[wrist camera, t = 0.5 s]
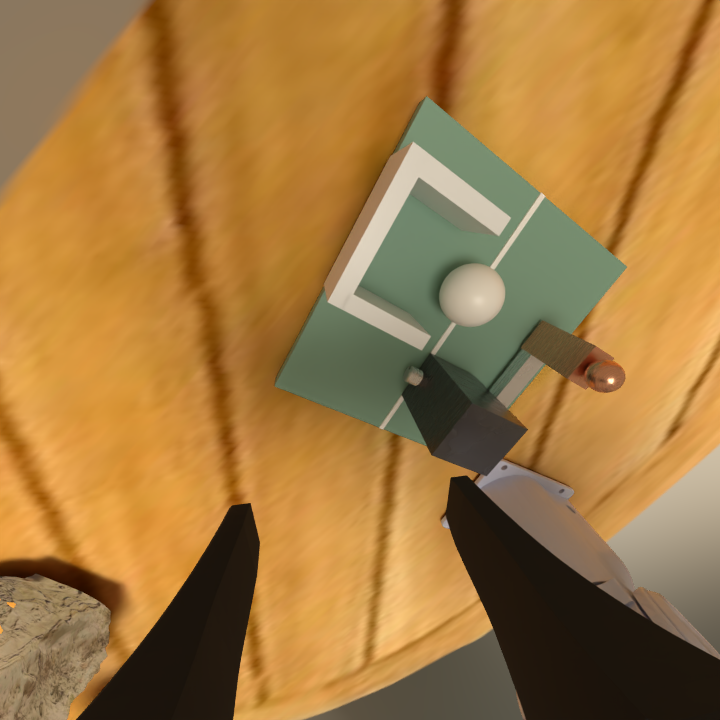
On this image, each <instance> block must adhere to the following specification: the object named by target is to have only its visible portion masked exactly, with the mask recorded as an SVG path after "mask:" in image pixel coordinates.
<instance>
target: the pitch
mask: <svg viewBox="0 0 720 720" xmlns="http://www.w3.org/2000/svg"><path fill="white" fill-rule="evenodd" d="M412 142H414V143H416V144H417V145H418V146H420V147H421V148H422V149H423V150H425V151H426V152H427V153H429V154H430V155H431V156H432V157H434V158H435V159H436V160H438V161H439V162H440V163H441V164H443V165H444V166H445V167H447V168H448V169H449V170H450V171H452V172H453V173H454V174H456V175H457V176H458V177H459V178H461V179H462V180H463V181H465V182H466V183H467V184H468V185H470V186H471V187H472V188H473V189H475V190H476V191H477V192H479V193H480V194H481V195H482V196H484V197H485V198H486V199H488V200H489V201H490V202H491V203H493V204H494V205H495V206H497V207H498V208H499V209H500V210H502V211H503V212H504V213H506V214H507V215H508V216H509V217H511V219H510V221H509V222H508V224H507V225H506V227H505V228H504V230H503V231H502V232H501V234H500V235H499V236H495V235H488V234H481V233H475V232H468V231H462V230H460V229H459V228H457V227H456V226H455V225H453V224H452V223H450V222H449V221H448V220H446V219H445V218H443V217H442V216H441V215H439V214H438V213H436V212H435V211H433V210H432V209H431V208H429V207H428V206H426V205H425V204H424V203H422V202H421V201H419V200H418V199H416V198H415V197H414V196H412V195H411V194H409V195H408V197H407V199H406V201H405V202H404V204H403V206H402V208H401V210H400V211H399V213H398V215H397V217H396V219H395V220H394V222H393V224H392V226H391V228H390V229H389V231H388V233H387V235H386V236H385V238H384V240H383V242H382V244H381V245H380V247H379V249H378V251H377V253H376V254H375V256H374V258H373V260H372V262H371V263H370V265H369V267H368V269H367V270H366V272H365V274H364V276H363V278H362V279H361V281H360V283H359V286H361V287H362V288H364V289H366V290H368V291H370V292H372V293H373V294H375V295H377V296H379V297H381V298H382V299H384V300H386V301H388V302H390V303H391V304H393V305H395V306H397V307H399V308H400V309H402V310H404V311H406V312H408V313H409V314H410V315H411V316H412V317H413V318H414V319H415V320H416V321H417V322H418V323H419V324H420V325H421V326H422V327H423V328H424V329H425V330H426V331H427V333H428V334H429V335H430V336H431V337H430V339H429V340H428V342H427V343H426V345H425V346H424V348H423V349H422V350H420V349H418V348H416V347H414V346H412V345H410V344H408V343H406V342H404V341H402V340H400V339H398V338H396V337H394V336H392V335H390V334H389V333H387V332H385V331H383V330H381V329H379V328H377V327H375V326H373V325H371V324H369V323H367V322H365V321H363V320H361V319H359V318H357V317H355V316H354V315H352V314H350V313H348V312H346V311H344V310H342V309H340V308H338V307H336V306H334V305H332V304H330V303H328V302H327V297H326V292H325V287H323V289H322V291H321V293H320V295H319V297H318V298H317V300H316V302H315V304H314V306H313V308H312V310H311V312H310V314H309V316H308V318H307V320H306V321H305V323H304V325H303V327H302V329H301V331H300V333H299V335H298V337H297V339H296V341H295V343H294V344H293V346H292V348H291V350H290V352H289V354H288V356H287V358H286V360H285V362H284V364H283V366H282V367H281V369H280V371H279V373H278V375H277V377H276V380H275V387H277V388H280V389H283V390H285V391H288V392H290V393H293V394H295V395H298V396H300V397H303V398H306V399H308V400H311V401H313V402H316V403H318V404H321V405H323V406H326V407H328V408H331V409H334V410H336V411H339V412H341V413H344V414H346V415H349V416H351V417H354V418H356V419H359V420H362V421H364V422H367V423H369V424H372V425H374V426H377V427H379V428H380V429H382V430H383V429H384V430H387V431H390V432H392V433H395V434H397V435H400V436H402V437H405V438H407V439H410V440H413V441H415V442H418V443H420V444H423V445H425V446H427V445H426V443H425V441H424V439H423V437H422V435H421V433H420V431H419V429H418V427H417V425H416V423H415V421H414V419H413V417H412V415H411V413H410V411H409V409H408V407H407V405H406V403H405V401H404V399H403V397H402V395H401V394H402V393H403V391H404V390H405V389H406V387H407V386H408V384H409V383H408V382H406V381H404V379H403V376H404V373H405V371H406V369H407V368H408V367H409V366H413V367H415V368H418V369H419V368H420V367H421V365H422V364H423V362H424V361H425V359H426V358H427V357H428V355H429V354H430V353H432V354H434V355H436V356H437V357H439V358H441V359H443V360H445V361H447V362H449V363H451V364H453V365H455V366H457V367H459V368H461V369H463V370H465V371H466V372H468V373H470V374H472V375H474V376H475V377H476V378H477V379H478V380H479V381H480V382H481V383H482V384H483V385H484V386H485V387H486V388H487V389H488V390H490V389H491V388H492V386H493V385H494V384H495V383H496V381H497V380H498V379H499V378H500V376H501V375H502V374H503V373H504V371H505V370H506V369H507V367H508V366H509V365H510V364H511V362H512V361H513V360H514V359H515V357H516V356H517V355H518V354H519V352H520V351H521V350H522V348H521V347H522V345H523V344H524V343H525V342H526V340H527V339H528V338H529V337H530V335H531V334H532V333H533V332H534V330H535V329H536V328H537V326H538V325H539V324H540V323H541V321H542V320H543V321H545V322H547V323H549V324H551V325H553V326H555V327H557V328H559V329H561V330H564V331H566V332H568V333H570V334H572V333H573V331H574V330H575V329H576V328H577V327H578V325H579V324H580V323H581V322H582V321H583V319H584V318H585V317H586V316H587V315H588V313H589V312H590V311H591V310H592V309H593V307H594V306H595V305H596V304H597V303H598V301H599V300H600V299H601V298H602V297H603V295H604V294H605V293H606V292H607V291H608V289H609V288H610V287H611V286H612V285H613V283H614V282H615V281H616V280H617V279H618V278H619V276H620V275H621V274H622V273H623V272H624V270H625V269H626V268H627V266H626V265H624V264H623V263H622V262H621V261H620V260H618V259H617V258H616V257H615V256H614V255H613V254H611V253H610V252H609V251H608V250H607V249H606V248H604V247H603V246H602V245H601V244H600V243H599V242H597V241H596V240H595V239H594V238H593V237H591V236H590V235H589V234H588V233H587V232H586V231H584V230H583V229H582V228H581V227H580V226H579V225H577V224H576V223H575V222H574V221H573V220H571V219H570V218H569V217H568V216H567V215H566V214H564V213H563V212H562V211H561V210H560V209H559V208H557V207H556V206H555V205H554V204H553V203H552V202H550V201H549V200H548V199H547V198H546V197H545V195H544V194H542V193H540V192H539V191H537V190H536V189H535V188H534V187H533V186H532V185H530V184H529V183H528V182H527V181H526V180H525V179H523V178H522V177H521V176H520V175H519V174H517V173H516V172H515V171H514V170H513V169H512V168H510V167H509V166H508V165H507V164H506V163H505V162H503V161H502V160H501V159H500V158H499V157H497V156H496V155H495V154H494V153H493V152H492V151H490V150H489V149H488V148H487V147H486V146H485V145H483V144H482V143H481V142H480V141H479V140H478V139H476V138H475V137H474V136H473V135H472V134H470V133H469V132H468V131H467V130H466V129H465V128H463V127H462V126H461V125H460V124H459V123H458V122H456V121H455V120H454V119H453V118H452V117H451V116H449V115H448V114H447V113H446V112H445V111H443V110H442V109H441V108H440V107H439V106H438V105H436V104H435V103H434V102H433V101H432V100H431V99H429V98H428V97H427V96H426V97H425V98H424V99H423V100H422V101H421V102H420V103H419V105H418V107H417V109H416V111H415V113H414V114H413V116H412V118H411V120H410V122H409V124H408V126H407V128H406V130H405V132H404V134H403V136H402V137H401V139H400V141H399V143H398V145H397V147H396V149H395V151H394V153H396V152H398V151H399V150H401V149H402V148H404V147H406V146H407V145H409V144H410V143H412ZM394 153H393V154H394ZM471 263H478V264H483V265H486V266H489V267H490V268H492V269H494V270H495V271H496V272H497V273H498V274H499V275H500V277H501V279H502V280H503V283H504V286H505V300H504V303H503V306H502V308H501V310H500V311H499V313H498V314H497V315H496V316H495V317H494V318H493V319H492V320H490V321H489V322H487V323H485V324H483V325H480V326H476V327H464V326H460V325H457V324H455V323H454V322H452V321H451V320H449V319H448V318H447V317H446V316H445V314H444V313H443V311H442V309H441V306H440V302H439V293H440V288H441V285H442V283H443V281H444V280H445V278H446V277H447V276H448V275H449V273H451V272H452V271H453V270H454V269H456V268H458V267H460V266H462V265H465V264H471ZM545 365H546V364H545V363H544V364H543V365H542V367H541V368H540V369H539V370H538V371H537V373H536V374H535V375H534V376H533V377H532V379H531V380H530V381H529V382H528V383H527V385H526V386H525V387H524V388H523V389H522V391H521V392H520V393H519V394H518V395H517V397H516V398H515V399H514V400H513V401H512V403H511V404H510V405H509V406H508V407H507V409H509V408H510V407H511V405H512V404H513V403H514V402H515V401H516V399H517V398H518V397H519V396H520V395H521V394H522V392H523V391H524V390H525V389H526V388H527V386H528V385H529V384H530V383H531V382H532V380H533V379H534V378H535V377H536V376H537V374H538V373H539V372H540V371H541V370H542V368H543V367H544V366H545Z"/></svg>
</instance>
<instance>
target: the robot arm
mask: <svg viewBox="0 0 720 720" xmlns="http://www.w3.org/2000/svg"><path fill="white" fill-rule="evenodd" d="M573 494H574V490H573V489H572V488H571V487H569V486H567V485H564V484H562V483H559V482H557V481H555V480H552V479H550V478H547V477H545V476H543V475H540V474H538V473H535V472H533V471H531V470H528V469H526V468H523V467H521V466H519V465H516V464H514V463H511V462H509V461H507V460H504V459H502V460H501V461H500V462H499V463H498V464H497V465H496V466H495V468H494V469H493V470H492V471H491V472H490V473H489V474H488V476H485V475H482V474H481V475H480V476H479V477H478V479H477V480H476V481H475V482H473V481H472V480H471V479H470V478H469V477H468V476H459V477H451V480H450V487H449V495H448V502H447V510H446V515H445V516H444V518H443V519H442V520H441V523H442V526H443V527H445V528H448V529H450V531H451V534H452V537H453V539H454V542H455V545H456V547H457V550H458V552H459V554H460V556H461V558H462V561H463V563H464V565H465V567H466V569H467V571H468V574H469V576H470V578H471V580H472V582H473V584H474V587H475V589H476V591H477V593H478V595H479V597H480V599H481V602H482V604H483V606H484V608H485V610H486V612H487V615H488V617H489V619H490V622H491V624H492V626H493V629H494V631H495V634H496V637H497V639H498V642H499V645H500V648H501V650H502V653H503V655H504V658H505V661H506V663H507V666H508V669H509V672H510V675H511V678H512V681H513V683H514V686H515V689H516V694H517V700H518V704H519V707H520V711H521V714H522V717H523V720H720V654H719V653H718V652H717V651H716V650H715V649H714V648H713V647H712V646H711V645H710V643H709V642H708V641H707V640H706V639H705V638H704V637H703V636H702V635H701V634H700V633H699V632H698V631H697V630H696V629H695V628H694V627H693V626H692V625H691V623H690V622H689V621H688V620H686V618H685V617H684V616H683V615H682V614H681V613H680V612H679V611H678V610H677V609H676V608H675V607H674V606H673V605H672V604H671V603H670V602H669V601H668V600H666V599H665V598H664V597H663V596H662V595H661V594H659V593H656V592H652V591H648V590H646V589H645V588H643V587H639V588H638V589H636V590H635V587H634V583H633V581H632V578H631V576H630V574H629V571H628V569H627V568H626V566H625V565H624V563H623V562H622V561H621V560H620V558H619V557H618V556H617V555H616V554H615V553H614V551H613V550H612V549H611V548H610V547H609V546H608V545H607V544H606V542H605V541H604V540H603V539H602V538H601V537H600V536H599V535H598V533H597V532H596V531H595V530H594V529H593V528H592V527H591V526H590V524H589V523H588V522H587V521H586V520H585V519H584V518H583V517H582V515H581V514H580V513H579V512H578V511H577V510H576V509H575V507H574V506H573V505H572V504H571V503H570V502H569V501H568V499H569V498H570V497H571V496H572V495H573ZM259 547H260V541H259V537H258V533H257V528H256V524H255V520H254V516H253V512H252V507H251V503H248V504H240V505H232V506H231V507H230V508H229V510H228V512H227V514H226V516H225V517H224V519H223V521H222V523H221V525H220V526H219V528H218V530H217V532H216V533H215V535H214V537H213V538H212V540H211V542H210V544H209V545H208V547H207V549H206V550H205V552H204V553H203V555H202V556H201V558H200V560H199V561H198V563H197V564H196V566H195V568H194V569H193V571H192V572H191V574H190V575H189V577H188V578H187V580H186V581H185V583H184V584H183V586H182V587H181V589H180V590H179V592H178V593H177V595H176V596H175V597H174V599H173V600H172V602H171V603H170V605H169V606H168V608H167V609H166V610H165V612H164V613H163V614H162V616H161V617H160V619H159V620H158V621H157V623H156V624H155V625H154V627H153V628H152V629H151V631H150V632H149V633H148V634H147V636H146V637H145V638H144V640H143V641H142V642H141V644H140V645H139V646H138V647H137V649H136V650H135V651H134V652H133V654H132V655H131V656H130V657H129V658H128V660H127V661H126V662H125V663H124V665H123V666H122V667H121V668H120V669H119V671H118V672H117V673H116V674H115V676H114V677H113V678H112V679H111V680H110V682H109V683H108V684H107V685H106V686H105V687H104V689H103V690H102V691H101V692H100V693H99V694H98V696H97V697H96V698H95V699H94V700H93V701H92V702H91V704H90V705H89V706H88V707H87V708H86V709H85V710H84V711H83V712H82V714H81V715H80V716H79V717H78V718H77V719H76V720H233V716H234V707H235V699H236V690H237V682H238V674H239V668H240V662H241V656H242V651H243V645H244V640H245V635H246V630H247V625H248V620H249V614H250V609H251V604H252V599H253V594H254V588H255V583H256V578H257V569H258V559H259Z"/></svg>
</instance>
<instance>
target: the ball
mask: <svg viewBox="0 0 720 720" xmlns="http://www.w3.org/2000/svg"><path fill="white" fill-rule="evenodd" d="M504 300H505V286H504V283H503V280H502V279H501V277H500V275H499V274H498V273H497V272H496V271H495V270H494V269H492V268H490V267H489V266H486V265H483V264H478V263H471V264H465V265H462V266H460V267H458V268H456V269H454V270H453V271H452V272H451V273H449V275H448V276H447V277H446V278H445V280H444V281H443V283H442V285H441V288H440V293H439V302H440V306H441V309H442V311H443V313H444V314H445V316H446V317H447V318H448V319H449V320H451V321H452V322H454V323H455V324H457V325H460V326H464V327H476V326H480V325H483V324H485V323H487V322H489V321H490V320H492V319H493V318H494V317H495V316H496V315H497V314H498V313H499V311H500V310H501V308H502V306H503V303H504Z"/></svg>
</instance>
